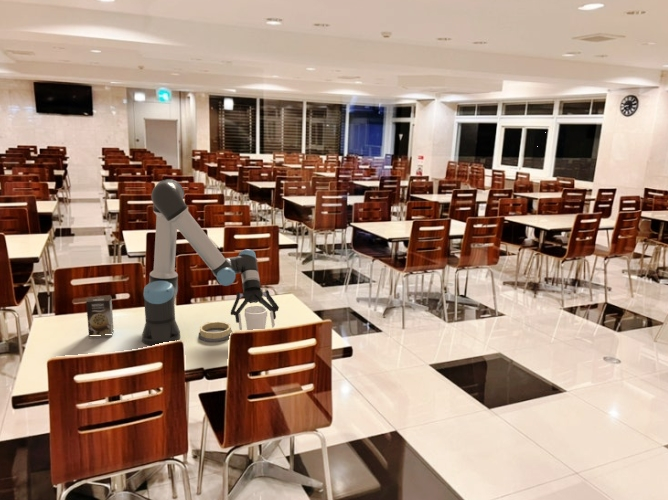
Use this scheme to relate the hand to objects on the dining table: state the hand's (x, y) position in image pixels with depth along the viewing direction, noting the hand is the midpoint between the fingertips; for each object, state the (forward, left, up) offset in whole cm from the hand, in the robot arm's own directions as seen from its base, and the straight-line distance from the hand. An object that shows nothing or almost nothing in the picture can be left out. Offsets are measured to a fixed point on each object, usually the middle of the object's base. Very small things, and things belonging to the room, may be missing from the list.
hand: (257, 327), depth 215 cm
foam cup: (0, +2, -6) cm, 6 cm away
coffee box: (-62, +22, -6) cm, 66 cm away
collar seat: (-16, +10, -6) cm, 20 cm away
